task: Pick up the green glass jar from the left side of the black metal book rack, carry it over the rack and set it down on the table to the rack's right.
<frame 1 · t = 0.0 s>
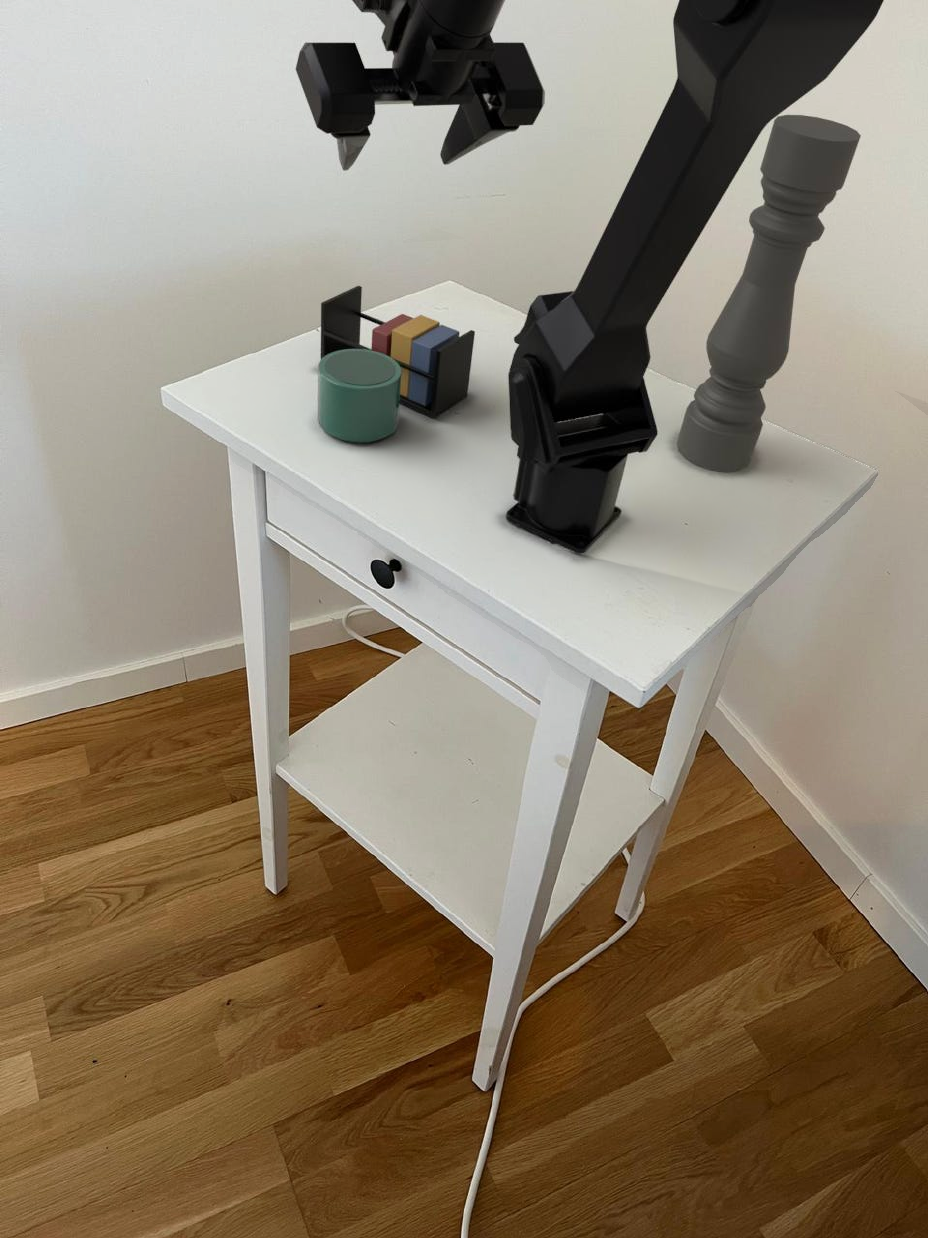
hand: (394, 162, 81), 15 cm above the nightstand, tool tilted 35°, fingers open, 9 cm apart
candle holder: (712, 453, 81), on the nightstand
green glass jar: (357, 424, 78), on the nightstand
rack: (393, 382, 84), on the nightstand
books: (393, 382, 84), resting on rack
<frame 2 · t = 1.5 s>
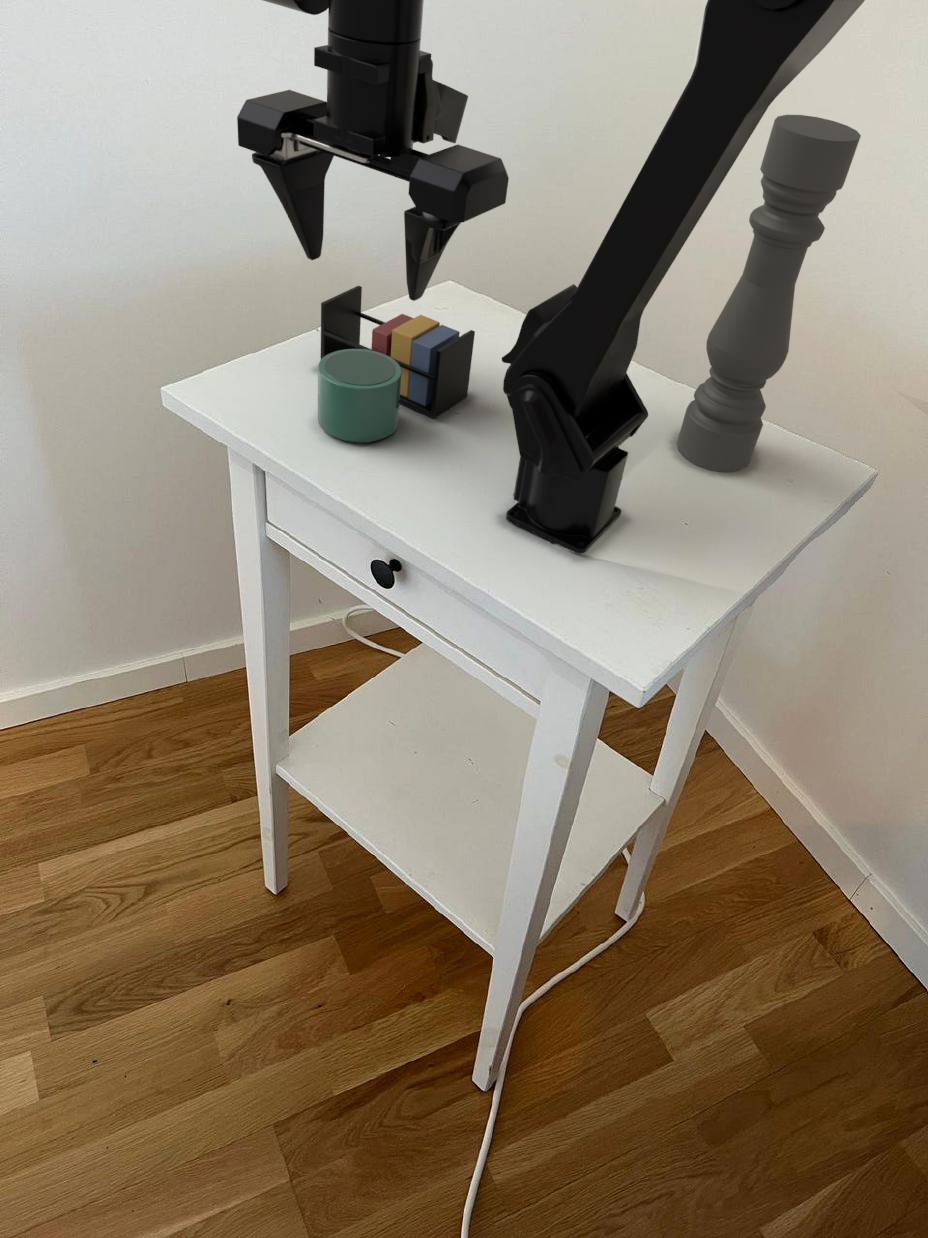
hand: (363, 277, 71), 12 cm above the nightstand, tool pointing down, fingers open, 9 cm apart
nothing on the nightstand moved.
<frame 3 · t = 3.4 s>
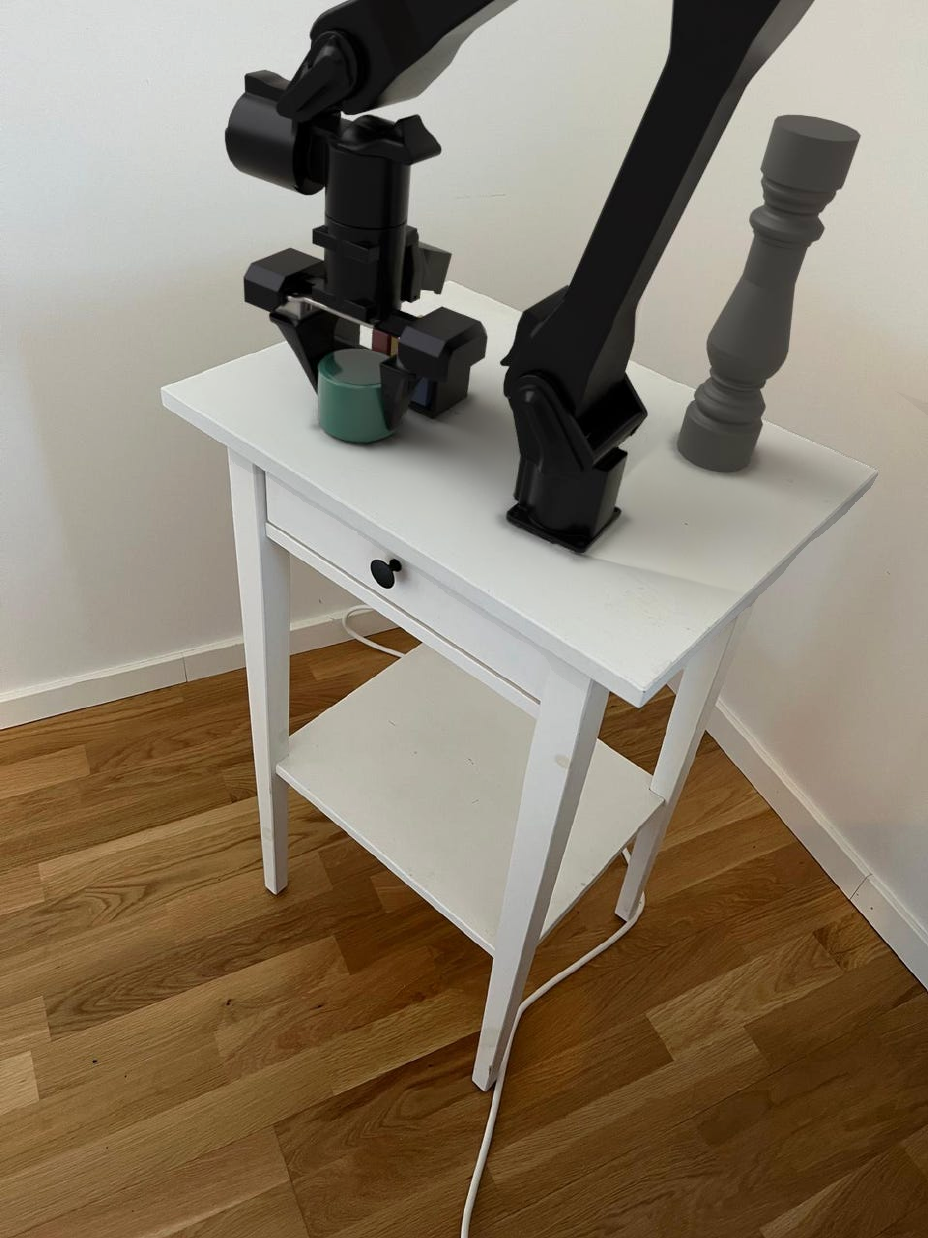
hand: (358, 413, 78), 1 cm above the nightstand, tool pointing down, fingers closed on green glass jar, 6 cm apart
green glass jar: (357, 424, 78), on the nightstand, touching gripper
everything else where it was.
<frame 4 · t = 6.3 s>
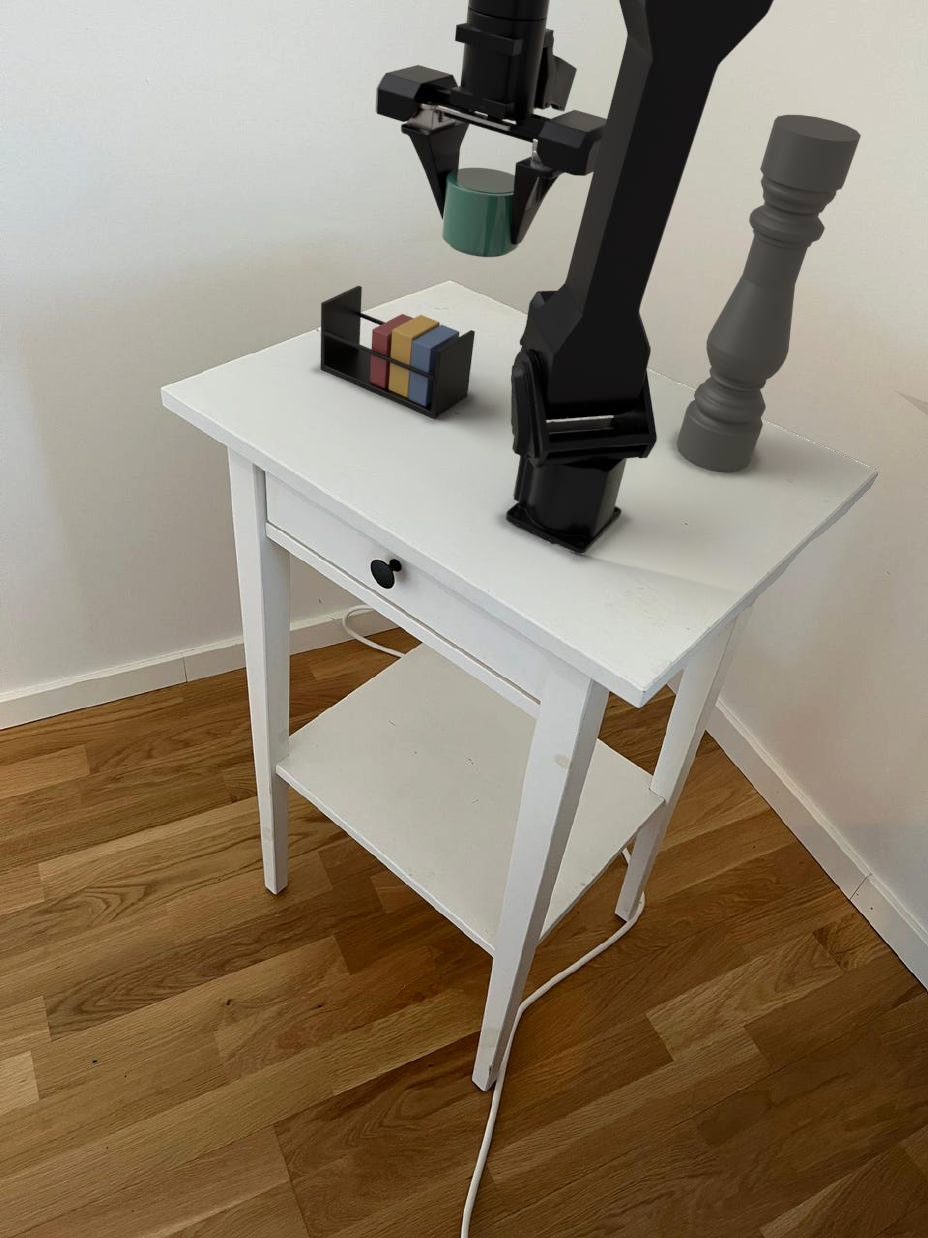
hand: (481, 231, 80), 12 cm above the nightstand, tool pointing down, fingers closed on green glass jar, 6 cm apart
green glass jar: (479, 243, 81), point 11 cm above the nightstand, touching gripper
everything else where it was.
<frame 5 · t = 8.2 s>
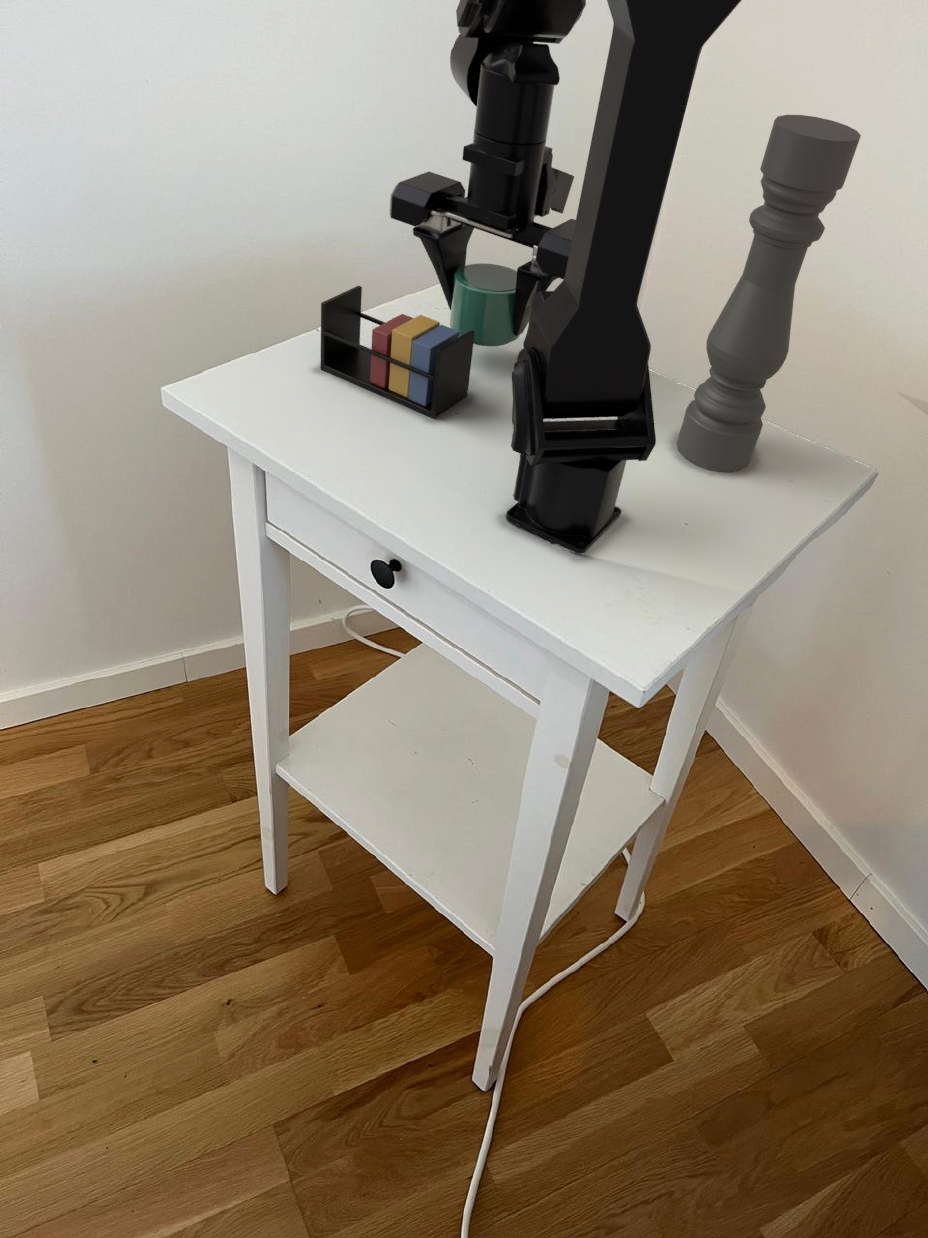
hand: (486, 321, 87), 3 cm above the nightstand, tool pointing down, fingers closed on green glass jar, 6 cm apart
green glass jar: (484, 332, 88), point 2 cm above the nightstand, touching gripper
everything else where it was.
when the fingers open (1 cm above the nightstand, at t = 9.5 s): green glass jar stays where it is, on the nightstand.
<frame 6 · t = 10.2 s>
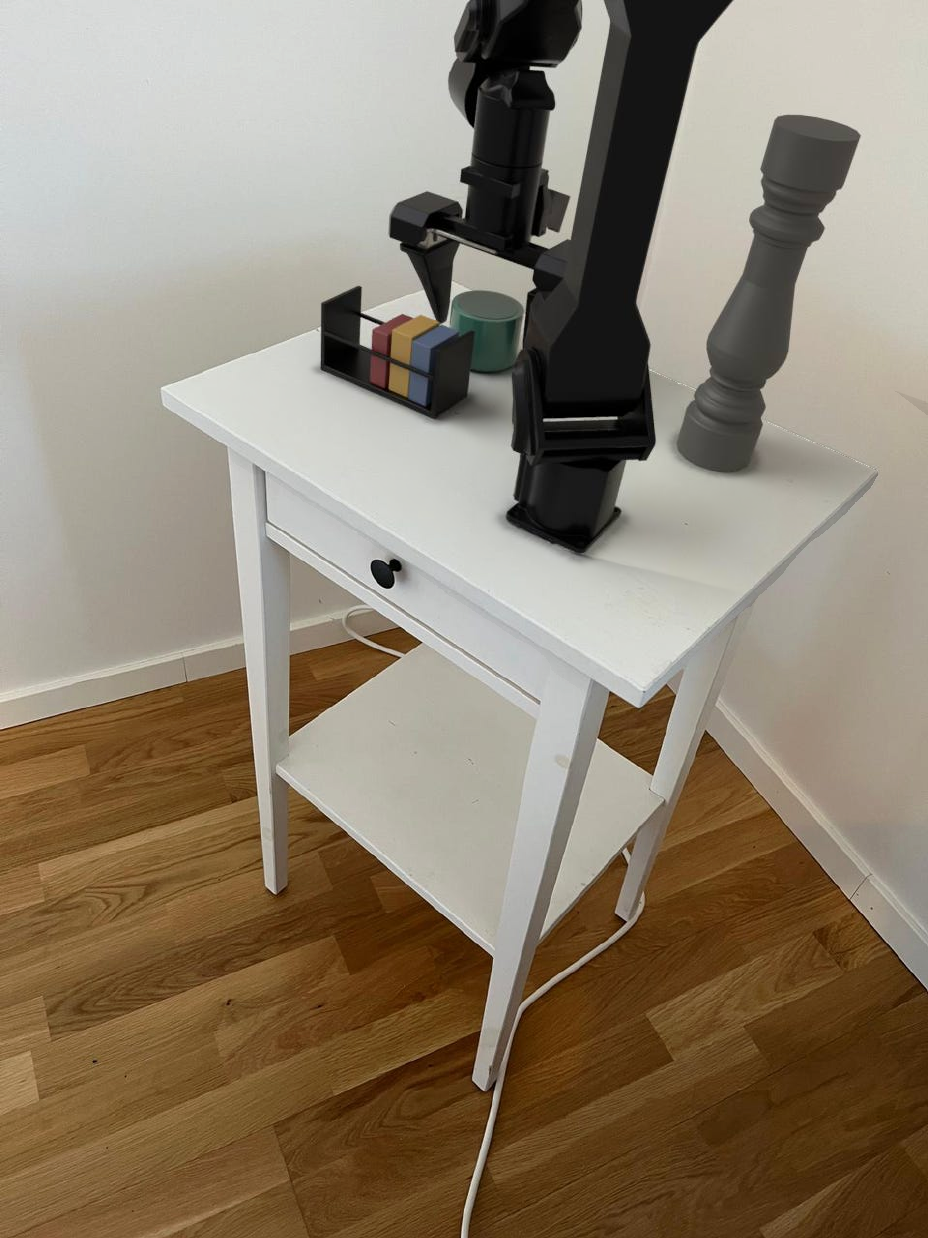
hand: (483, 338, 88), 2 cm above the nightstand, tool pointing down, fingers open, 9 cm apart
green glass jar: (481, 357, 89), on the nightstand
everything else where it was.
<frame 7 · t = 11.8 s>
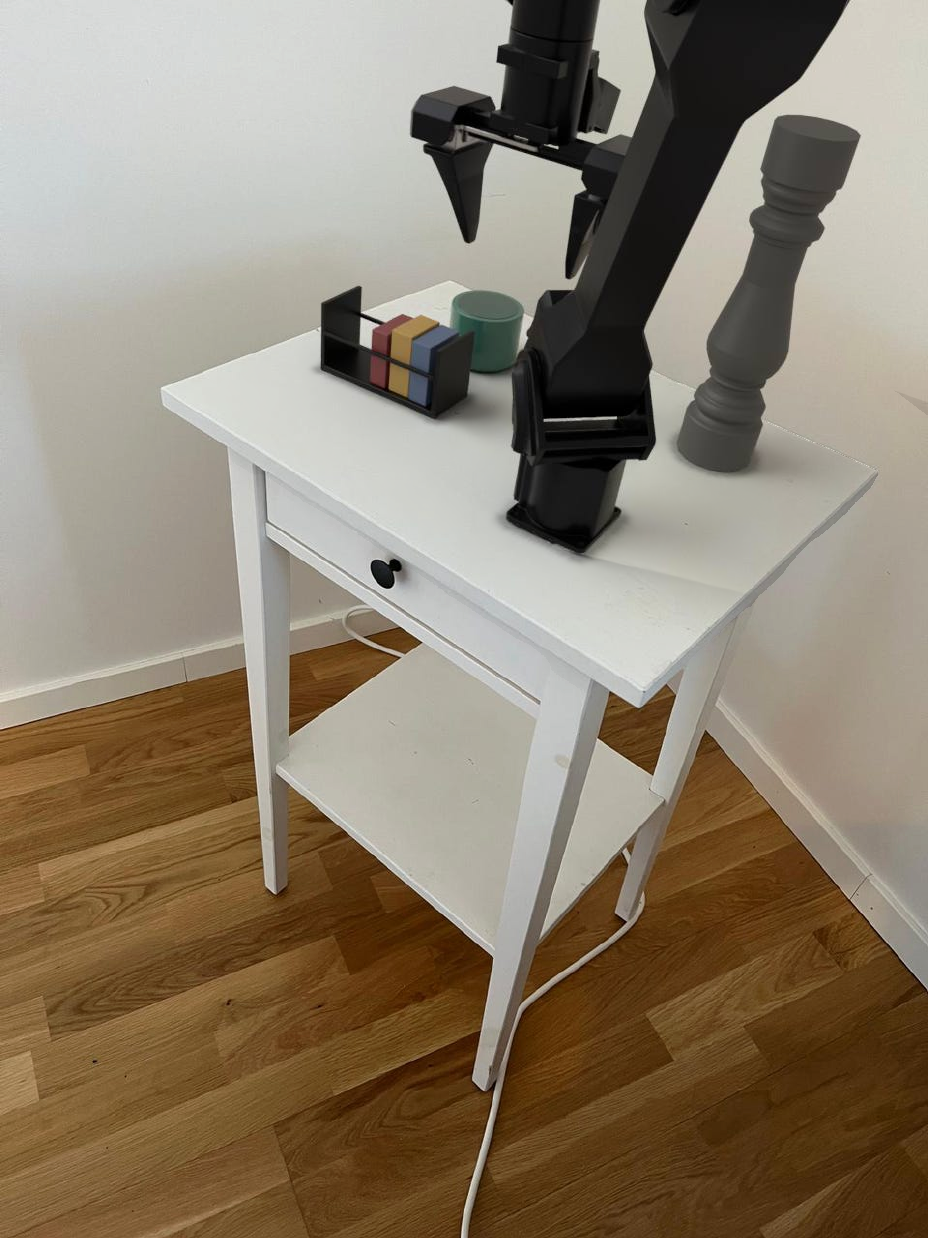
hand: (519, 259, 76), 12 cm above the nightstand, tool pointing down, fingers open, 9 cm apart
nothing on the nightstand moved.
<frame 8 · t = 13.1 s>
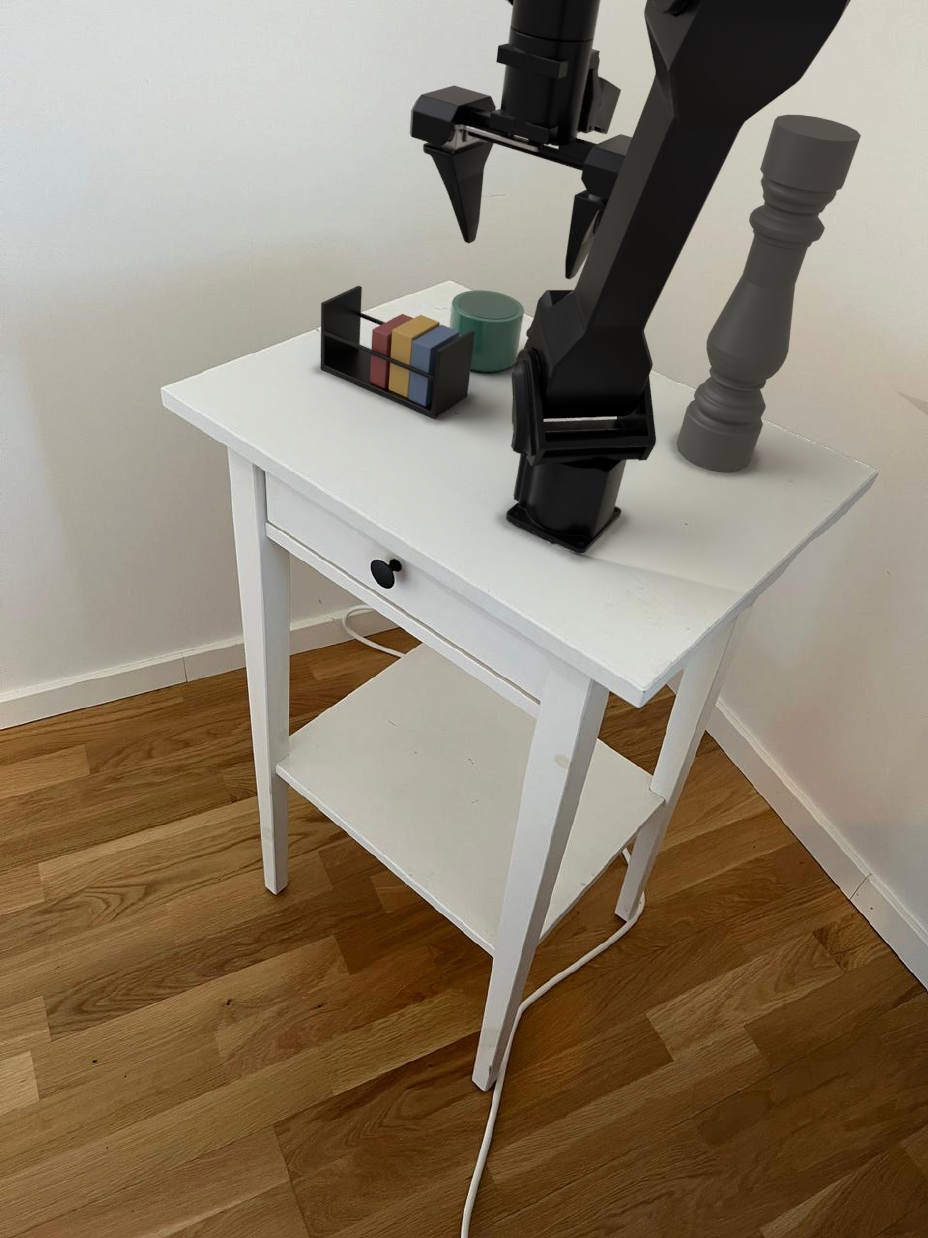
hand: (519, 259, 76), 12 cm above the nightstand, tool pointing down, fingers open, 9 cm apart
nothing on the nightstand moved.
at the end: green glass jar inside the target area on the nightstand beside the rack (1.8 cm from its centre), on the nightstand; green glass jar tilted 0°; green glass jar touching nightstand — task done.
